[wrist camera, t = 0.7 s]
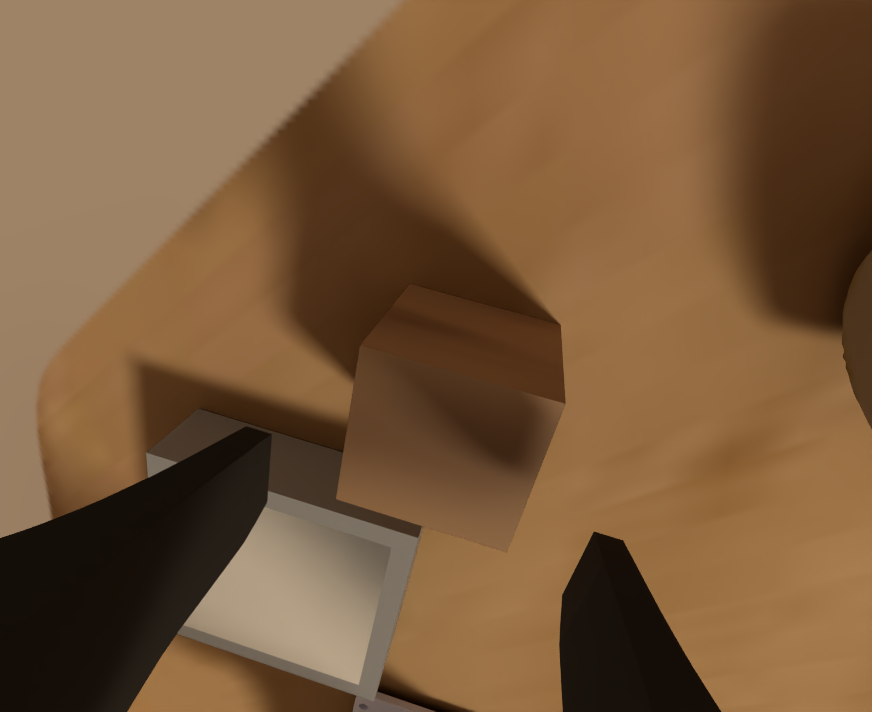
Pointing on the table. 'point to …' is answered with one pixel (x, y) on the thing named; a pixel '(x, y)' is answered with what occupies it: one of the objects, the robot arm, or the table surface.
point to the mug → (859, 335)
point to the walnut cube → (452, 415)
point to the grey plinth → (302, 567)
